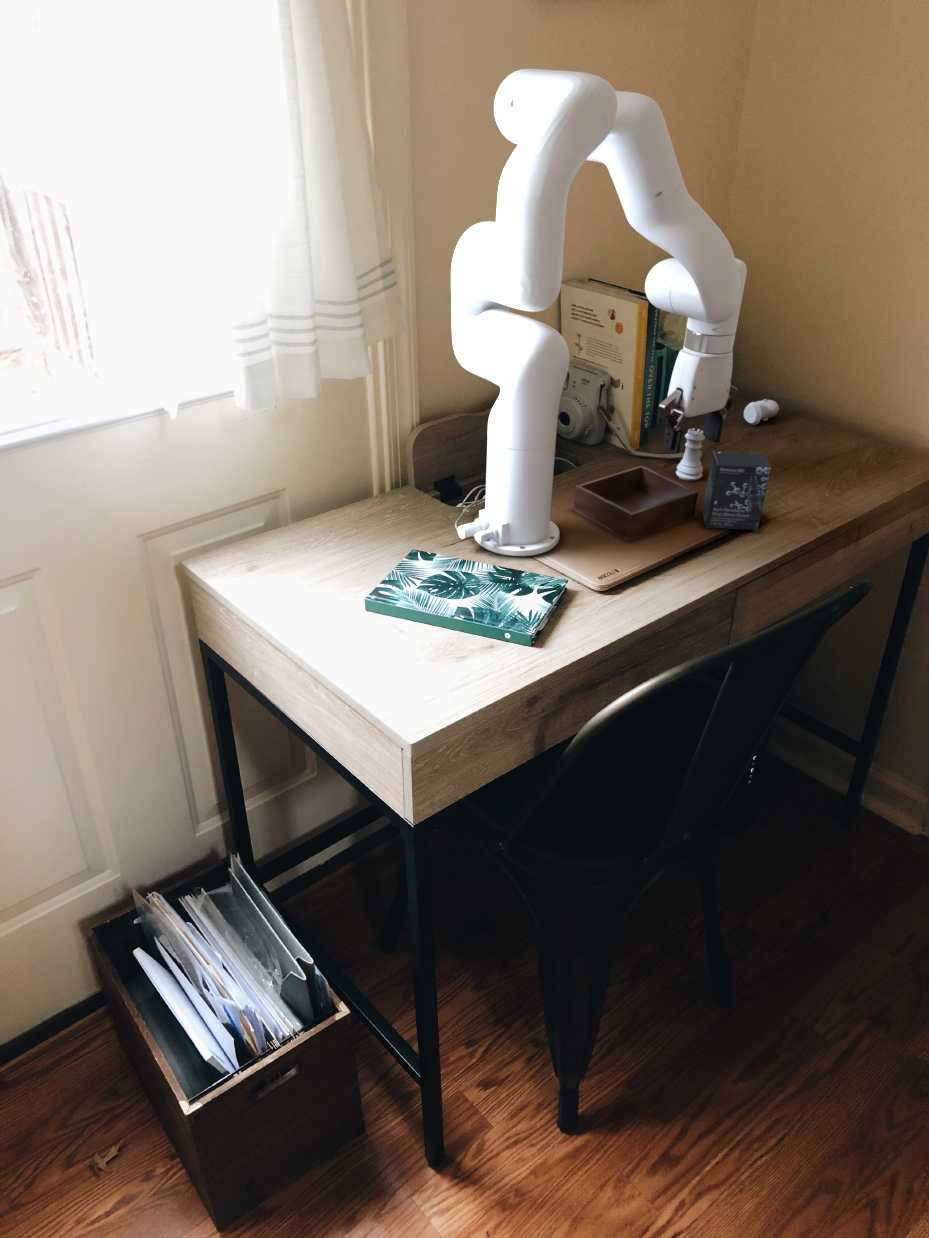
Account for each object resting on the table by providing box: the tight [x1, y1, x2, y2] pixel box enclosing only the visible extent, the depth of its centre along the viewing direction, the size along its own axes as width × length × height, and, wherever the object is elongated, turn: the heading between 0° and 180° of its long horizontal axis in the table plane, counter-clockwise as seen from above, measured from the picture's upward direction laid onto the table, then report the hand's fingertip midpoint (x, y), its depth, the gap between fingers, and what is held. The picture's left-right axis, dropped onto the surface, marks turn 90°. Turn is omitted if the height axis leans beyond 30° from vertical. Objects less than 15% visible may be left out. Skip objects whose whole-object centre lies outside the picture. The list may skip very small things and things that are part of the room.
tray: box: [573, 464, 699, 542], centre depth 147 cm, size 14×12×4 cm
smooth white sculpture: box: [743, 398, 780, 426], centre depth 183 cm, size 4×8×5 cm
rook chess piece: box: [675, 427, 706, 482], centre depth 159 cm, size 4×4×8 cm
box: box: [702, 449, 772, 532], centre depth 144 cm, size 8×6×11 cm
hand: (691, 445), depth 158 cm, fingers open, 9 cm apart
